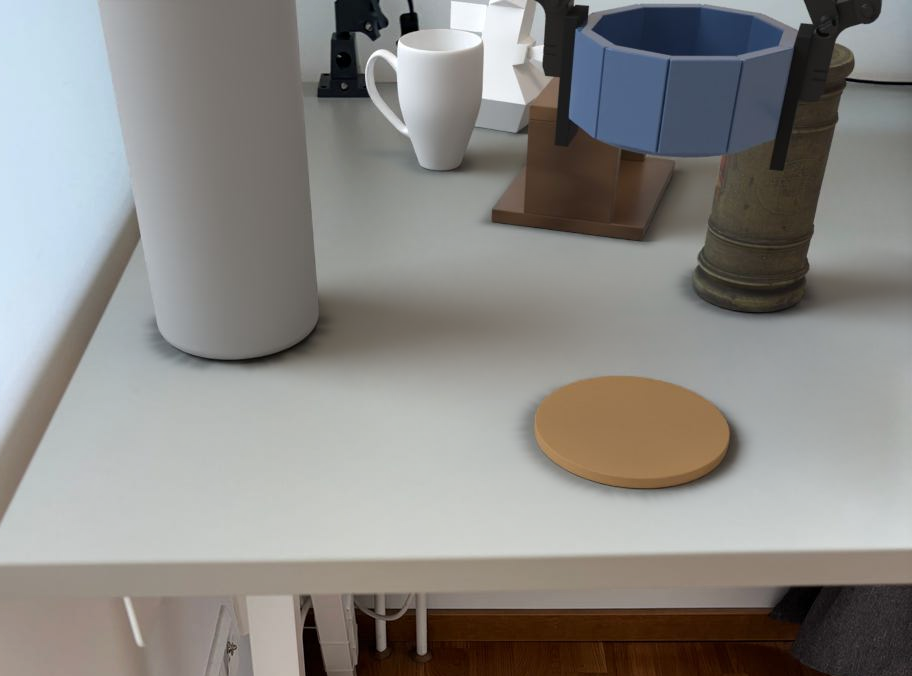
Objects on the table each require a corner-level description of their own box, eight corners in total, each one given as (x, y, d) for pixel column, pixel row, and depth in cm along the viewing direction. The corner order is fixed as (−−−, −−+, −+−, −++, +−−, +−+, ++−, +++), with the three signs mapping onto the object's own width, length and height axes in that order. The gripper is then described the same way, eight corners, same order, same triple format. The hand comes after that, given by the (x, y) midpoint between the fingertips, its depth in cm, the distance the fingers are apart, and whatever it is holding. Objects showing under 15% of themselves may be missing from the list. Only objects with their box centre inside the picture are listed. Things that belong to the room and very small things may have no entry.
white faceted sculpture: (544, 141, 116) (554, -5, 107) (427, 122, 121) (427, -20, 112) (572, 118, 122) (584, -23, 113) (459, 100, 127) (461, -36, 117)
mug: (491, 155, 113) (495, 33, 106) (465, 182, 108) (467, 55, 100) (384, 141, 116) (381, 21, 109) (353, 167, 111) (347, 43, 103)
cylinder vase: (308, 366, 80) (274, -22, 63) (141, 362, 81) (64, -24, 64) (329, 291, 90) (304, -65, 73) (179, 288, 90) (120, -67, 73)
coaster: (738, 402, 77) (740, 392, 76) (714, 504, 68) (716, 494, 67) (558, 373, 80) (559, 363, 79) (512, 467, 71) (512, 457, 70)
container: (823, 289, 90) (884, 49, 78) (764, 325, 85) (820, 75, 73) (730, 257, 95) (775, 26, 82) (669, 289, 90) (707, 49, 78)
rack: (673, 172, 110) (690, 59, 103) (641, 241, 97) (658, 117, 90) (539, 156, 113) (546, 46, 106) (491, 221, 100) (495, 101, 93)
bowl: (786, 105, 63) (805, 11, 60) (766, 174, 55) (787, 70, 52) (596, 86, 66) (604, -5, 62) (549, 149, 57) (557, 49, 54)
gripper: (456, -386, 46) (449, 148, 61) (1054, -387, 41) (888, 199, 56) (503, -383, 52) (486, 108, 66) (1039, -384, 46) (890, 151, 61)
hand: (669, 150), depth 61 cm, fingers closed on bowl, 11 cm apart
